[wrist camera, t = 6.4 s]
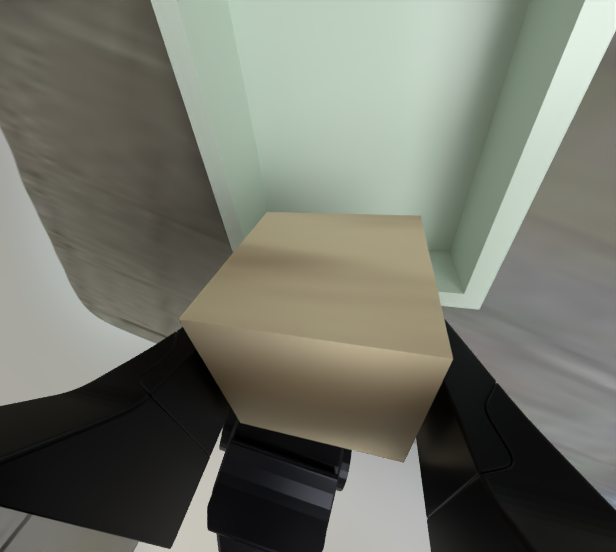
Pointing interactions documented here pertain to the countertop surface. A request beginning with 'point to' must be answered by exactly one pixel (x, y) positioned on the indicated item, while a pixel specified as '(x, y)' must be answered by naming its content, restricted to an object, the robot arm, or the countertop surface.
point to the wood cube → (327, 329)
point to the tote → (386, 111)
